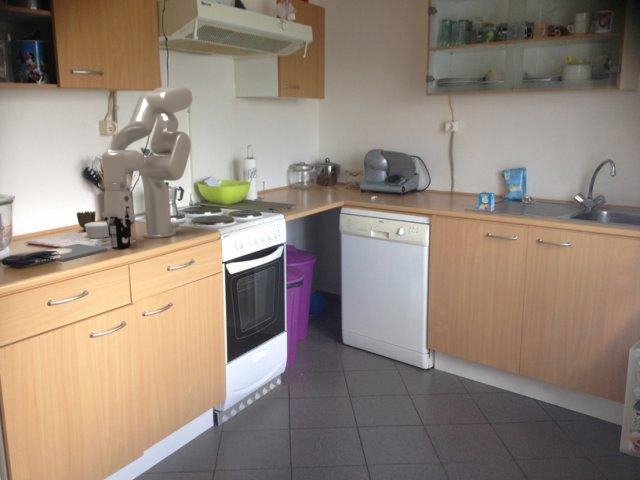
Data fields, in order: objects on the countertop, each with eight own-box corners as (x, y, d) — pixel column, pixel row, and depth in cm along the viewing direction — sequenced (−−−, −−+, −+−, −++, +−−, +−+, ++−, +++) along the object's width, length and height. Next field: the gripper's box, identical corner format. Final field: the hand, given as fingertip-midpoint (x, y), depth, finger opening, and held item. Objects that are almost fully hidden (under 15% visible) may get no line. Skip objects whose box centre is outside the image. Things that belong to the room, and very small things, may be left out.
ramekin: (119, 233, 231) (118, 221, 230) (109, 239, 221) (108, 226, 219) (92, 233, 232) (91, 221, 231) (80, 239, 221) (79, 226, 220)
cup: (79, 229, 240) (77, 211, 238) (98, 228, 242) (96, 210, 240) (76, 233, 233) (75, 214, 231) (96, 232, 234) (94, 213, 233)
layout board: (77, 246, 208) (77, 243, 208) (107, 250, 200) (107, 247, 200) (32, 256, 192) (32, 253, 192) (63, 261, 185) (62, 258, 184)
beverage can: (132, 245, 208) (130, 213, 206) (127, 249, 202) (124, 216, 200) (114, 245, 208) (112, 213, 206) (109, 249, 202) (106, 216, 199)
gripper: (141, 187, 200) (145, 236, 203) (107, 184, 208) (111, 232, 212) (125, 189, 193) (129, 240, 197) (90, 187, 202) (95, 236, 205)
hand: (120, 236), depth 204 cm, fingers closed on beverage can, 6 cm apart
